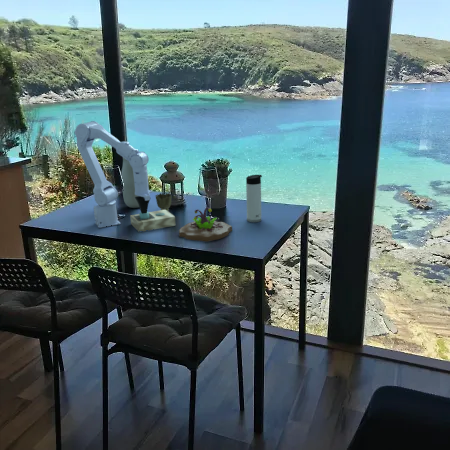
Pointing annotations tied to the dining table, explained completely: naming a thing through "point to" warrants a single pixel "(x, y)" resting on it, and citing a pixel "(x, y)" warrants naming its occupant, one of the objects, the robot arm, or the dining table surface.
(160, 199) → the cup
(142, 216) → the peg
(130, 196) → the pale grey bottle
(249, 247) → the dining table surface
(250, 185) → the travel mug
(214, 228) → the plant
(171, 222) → the socket block
